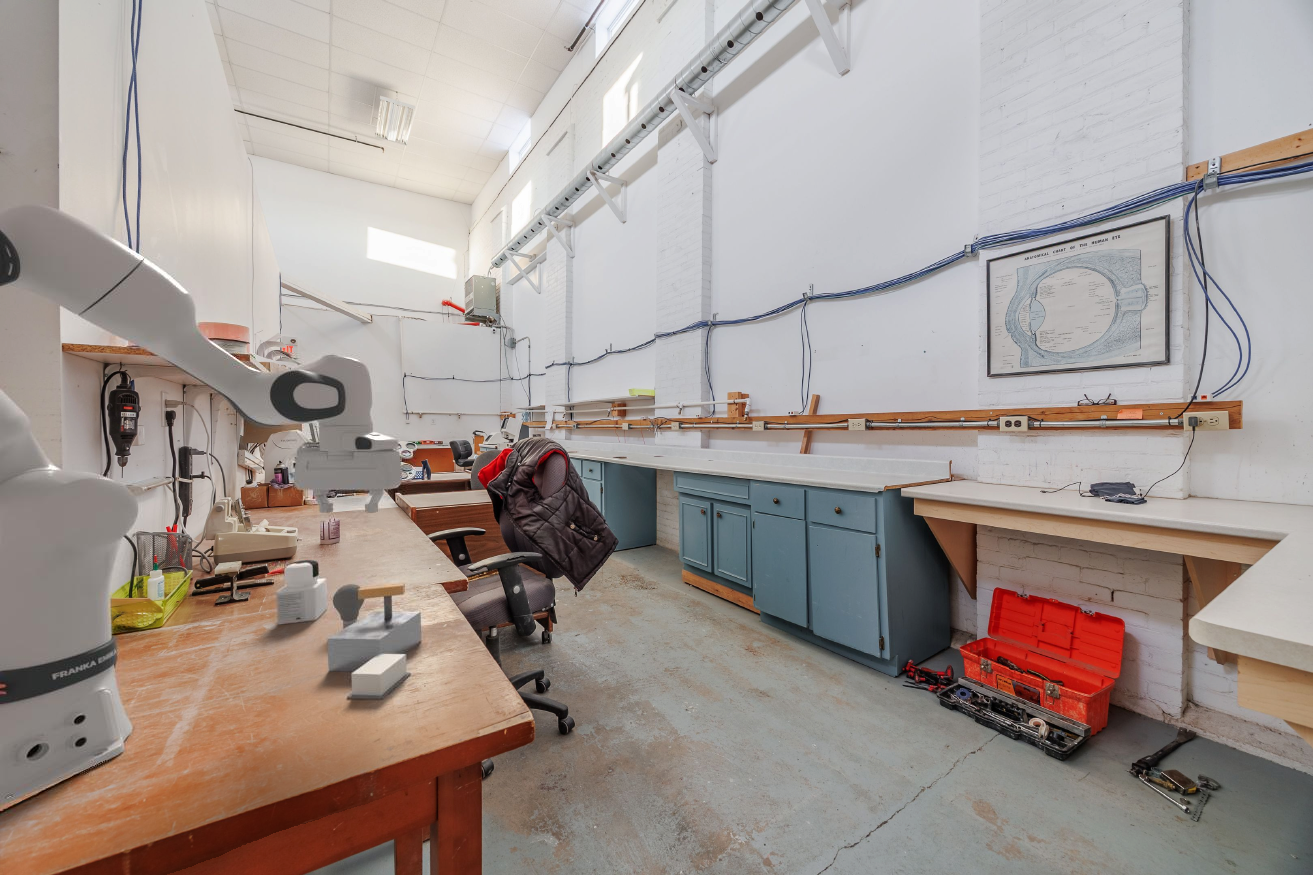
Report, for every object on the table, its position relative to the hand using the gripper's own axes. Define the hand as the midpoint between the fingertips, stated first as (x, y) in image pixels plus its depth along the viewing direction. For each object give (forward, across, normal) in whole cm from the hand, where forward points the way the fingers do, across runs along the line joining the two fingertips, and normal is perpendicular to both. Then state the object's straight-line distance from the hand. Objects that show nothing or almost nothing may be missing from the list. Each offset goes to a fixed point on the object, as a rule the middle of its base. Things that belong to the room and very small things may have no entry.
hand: (348, 512), depth 94 cm
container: (+28, -26, +18) cm, 42 cm away
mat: (+28, +13, -10) cm, 33 cm away
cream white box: (+28, +13, -10) cm, 32 cm away
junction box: (+28, +5, 0) cm, 28 cm away
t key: (+22, +5, +4) cm, 23 cm away
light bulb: (+28, -9, +11) cm, 32 cm away
